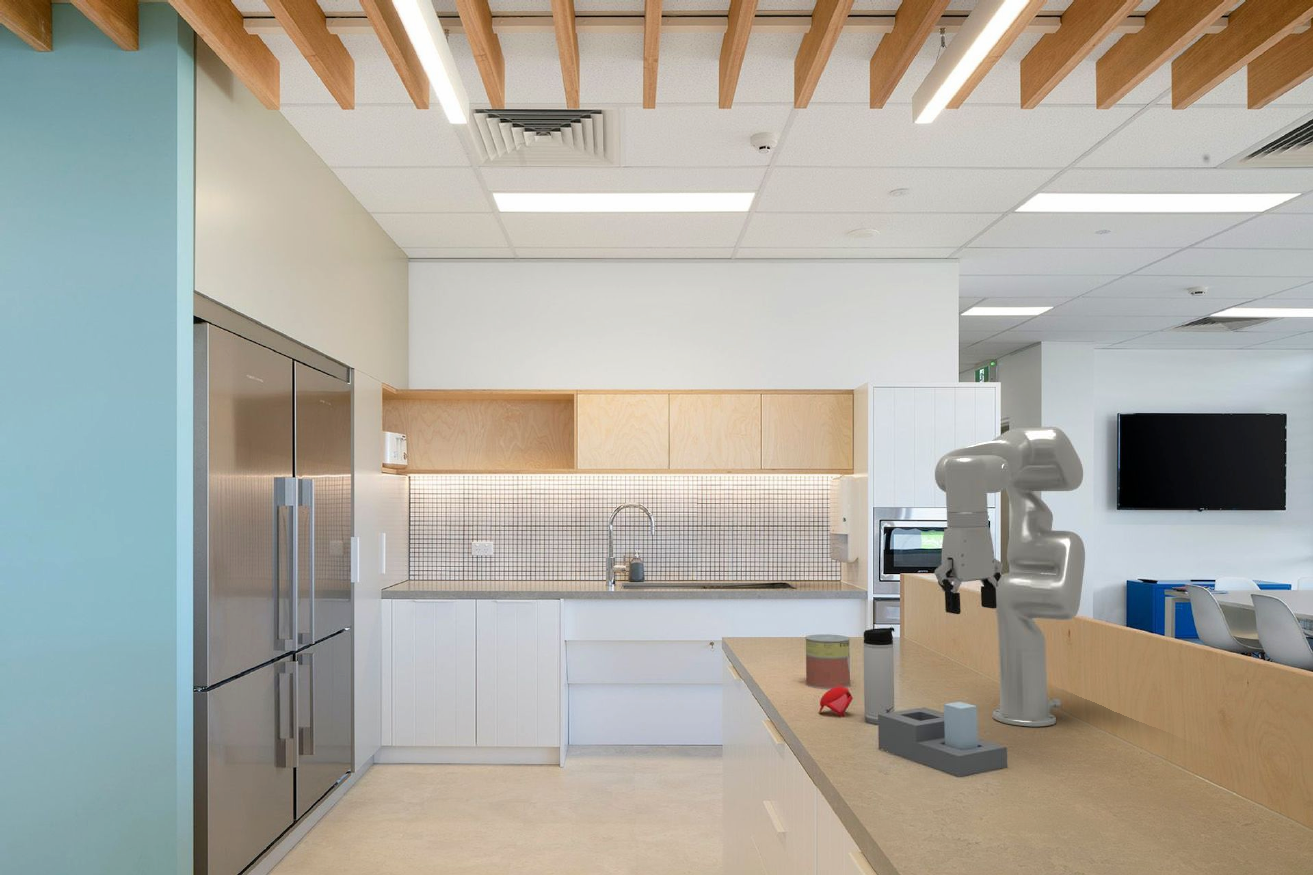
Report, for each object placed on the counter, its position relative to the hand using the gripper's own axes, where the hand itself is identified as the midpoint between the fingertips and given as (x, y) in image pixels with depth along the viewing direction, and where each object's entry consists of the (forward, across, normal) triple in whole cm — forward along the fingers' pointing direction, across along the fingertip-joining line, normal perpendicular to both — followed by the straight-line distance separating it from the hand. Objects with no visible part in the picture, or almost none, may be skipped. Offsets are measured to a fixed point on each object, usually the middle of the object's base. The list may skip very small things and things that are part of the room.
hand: (971, 610), depth 173 cm
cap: (+27, +5, -35) cm, 45 cm away
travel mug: (+27, +1, -25) cm, 37 cm away
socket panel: (+26, +10, +1) cm, 28 cm away
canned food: (+29, -14, -61) cm, 69 cm away
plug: (+25, +10, +6) cm, 28 cm away
